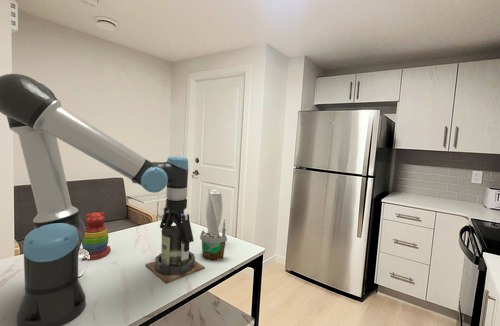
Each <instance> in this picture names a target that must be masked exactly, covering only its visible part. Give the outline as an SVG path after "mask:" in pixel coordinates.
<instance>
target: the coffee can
mask: <svg viewBox="0 0 500 326" xmlns="http://www.w3.org/2000/svg"><path fill="white" fill-rule="evenodd" d="M182 242H183V240H182V237H181V234H180V231H179V229H178V226H176V225H171V226H169V227H165V228H163V229H162V228H161V252H160V254H161V263H162V264H164V265H169V266H174V265H182V264H184V263H187V262H188V259H189V258H188V259H185V260H181V243H182Z"/></svg>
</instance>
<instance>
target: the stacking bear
mask: <svg viewBox="0 0 500 326" xmlns="http://www.w3.org/2000/svg"><path fill="white" fill-rule="evenodd" d="M105 216H106V213H105V212H104V211H103V212H98V211H97V212H96V211H94V212H91V213H90V212H89V213H87V214H86V215H85V223H86V227H85V236H84V239H83V241H82V243H81V246H82V250H83V249H85V250H87V251H88V252H89V255H90V260H89V261H92V260H93V261H95V260H99V259H102V258H104V257H106V256H107V255H108V254H110V252H112V251H111V246H109V245H108V244H109V232H108V229H107V227H106V225H104V224H105V220H106V218H105Z"/></svg>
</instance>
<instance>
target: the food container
mask: <svg viewBox="0 0 500 326" xmlns="http://www.w3.org/2000/svg"><path fill="white" fill-rule="evenodd" d="M227 238H228V237H227V235H225V236H223V237H222V235H219V236H218V235H216V234H209V233H207V232H205V230H202V231H201V233H200V236H199V239H200V240H201V249H202V250H201V251H202V254H201V255H202V258H203V259H204V260H206V261H211V262H212V261H213V262H214V261H219V260H222V259H224V255H225V246H226V242H227V241H228V239H227Z"/></svg>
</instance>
